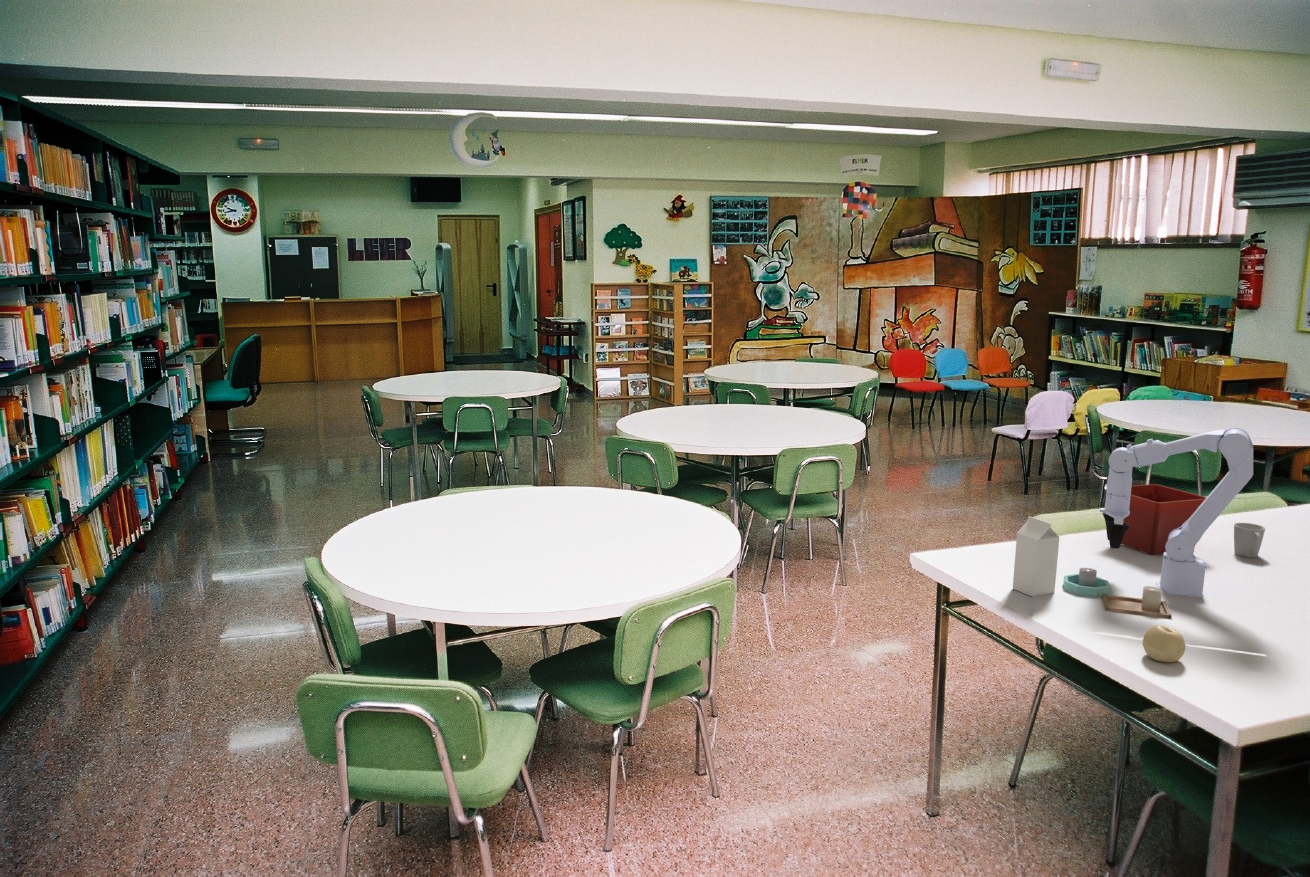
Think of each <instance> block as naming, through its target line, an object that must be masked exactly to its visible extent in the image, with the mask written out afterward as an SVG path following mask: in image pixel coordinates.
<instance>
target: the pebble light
mask: <svg viewBox="0 0 1310 877" xmlns="http://www.w3.org/2000/svg"><path fill="white" fill-rule="evenodd" d="M1162 595H1163V593H1162V590H1161V589H1160V588H1158V586H1157V587H1155V586H1150V585H1149V586H1143V588H1142V596H1141V598H1142V605H1141V608H1142V609H1143V610H1146V611H1150V612H1159V611H1160V606H1161V601H1162V597H1163V596H1162Z"/></svg>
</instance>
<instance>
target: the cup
mask: <svg viewBox="0 0 1310 877" xmlns="http://www.w3.org/2000/svg"><path fill="white" fill-rule="evenodd" d="M1265 532H1266V528H1265V526H1262V525H1259V524H1256V523H1251V522H1237V523H1234V524H1233V542H1234V543H1233V544H1234V546H1233V548H1234V551H1233V552H1234V554H1235V555H1237V556H1240V557H1244V558H1257V557H1258V556H1259V553H1260V550H1261V546H1262V544H1263V538H1264V535H1265Z"/></svg>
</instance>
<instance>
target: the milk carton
mask: <svg viewBox="0 0 1310 877" xmlns="http://www.w3.org/2000/svg"><path fill="white" fill-rule="evenodd" d="M1051 525H1052V524H1051V522H1048V521H1045V520H1043V519H1040V518H1036V517H1032V516H1030V515H1028V517H1027V521H1026V522H1025V523H1024V524H1023V525H1022V527H1020V529H1018V531H1017V532H1016V543H1015V553H1014V555H1015V556H1014V565H1013V566H1014V567H1013V577H1012V578H1013V580H1012V589H1014V590H1016V591H1018V592H1020V593H1023V594H1024V595H1027V596H1030V597H1031V598H1032V597H1037V596H1042V595H1048V594H1052V593H1053V594H1054V593H1055V590H1056V589H1055V588H1056V581H1057V580H1056V579H1057V569H1058V557H1059V548H1060V547H1059V546H1060V544H1059V543H1060V536H1059V534H1057V533H1056V532H1055V531H1054V529H1052V528H1051Z"/></svg>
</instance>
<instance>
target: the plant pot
mask: <svg viewBox="0 0 1310 877" xmlns="http://www.w3.org/2000/svg"><path fill="white" fill-rule="evenodd" d="M1206 498H1207V496H1202V495H1198V494H1195V493H1191V492H1188V491H1183V490H1181V489H1177V488H1172V487H1168V486H1164V485H1161V484H1157V483H1155V484H1154V483H1153V484H1141V485H1140V484H1139V485H1132V487H1131V497H1130V507H1129V511H1130V514H1129V515H1128V516H1127V517H1126V518H1125V519H1124V521H1123V523H1126V524H1130V527H1129V528H1128V530H1127V531H1126V533H1125V535H1124V537H1123V540H1122V543H1121V546H1125V547H1128V548H1131V549H1133V550H1135V551H1139V552H1141V553H1144V554H1148V555H1151V556H1158V555H1163V554H1164V553H1165V552H1166V549H1165V546H1166V543H1167V541H1168V536H1169V534H1170V533H1171V532H1172V531H1173V530H1174V529H1177V528H1179V527H1181V526H1182V525H1183V524H1184V522H1186V521H1187V520H1188V519H1189V518H1190V517H1191V516H1192V514H1193V513H1194V512H1195V511H1196V510H1197V508H1198V507H1199V506H1200V505H1201V504H1202V503H1203V501H1204V500H1205V499H1206Z"/></svg>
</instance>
